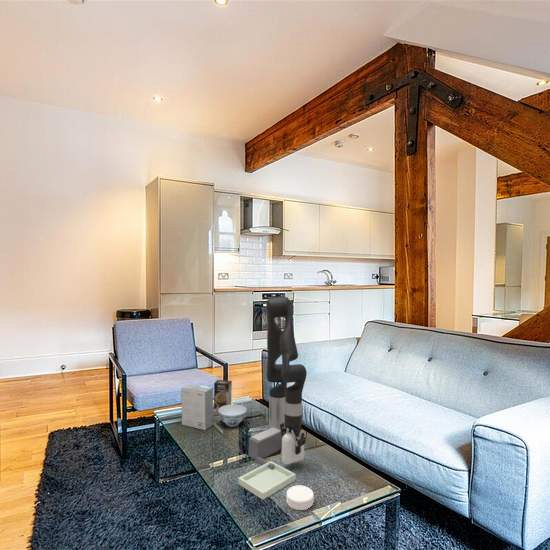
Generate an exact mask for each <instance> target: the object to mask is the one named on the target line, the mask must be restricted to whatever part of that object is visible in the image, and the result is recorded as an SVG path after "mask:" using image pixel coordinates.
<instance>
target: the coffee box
mask: <svg viewBox="0 0 550 550" xmlns="http://www.w3.org/2000/svg"><path fill="white" fill-rule="evenodd" d="M213 384H214V385H213V411H218V410H219V408H220V407H222V406H225V405H232V390H233V389H232V385H233V384H232V380H226V379H225V380H224V379H223V380H222V379H217V380H216V381H215V382H214V383H213Z"/></svg>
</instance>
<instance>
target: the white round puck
mask: <svg viewBox="0 0 550 550" xmlns="http://www.w3.org/2000/svg"><path fill="white" fill-rule="evenodd" d="M285 501H286V504H287V506H288V507H290V508H291V509H293V510H296V511H305V510H309V509H310V507H311V506H312V505H313V506H314V504H315V493H314V492H313V490H312V489H311V488H310V487H308V486H305V485H302V484H301V485H300V484H299V485H298V484H297V485H294V486H291V487H289V488H288V489H287V491H286V500H285ZM313 503H314V504H313ZM313 506H312V507H313ZM312 507H311V508H312ZM308 508H309V509H308Z"/></svg>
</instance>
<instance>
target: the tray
mask: <svg viewBox="0 0 550 550" xmlns="http://www.w3.org/2000/svg"><path fill="white" fill-rule="evenodd" d="M269 464H272V465H274V469H273V470H271V469H270V468H269ZM296 478H297V474H296V473H294V472H293V471H290V470H289V469H287V468H285V467H283V466H282V465H279V464H277V463H275V462H274V461H272V460H270V461H268V463H266V464H264V465H260V466H259V467H257V468H255V469H252V470H250V471H249V472H247V473H245V474H243V475H241V476H239V477H238V478H237V484H238V485H239V486H241V487H242V488H244V489H246V491H248V492H250V493H252V494H253V495H254V496H256V497H258V498H259V499H260V500H262V501H264V500H266V499H267V498H269V497H270V496H272V495H274V494H276V493H277V492H279V491H280V490H283V488H285V487H287V486H288V485H290V484H292V483H293V482H295V481H296V480H297V479H296Z"/></svg>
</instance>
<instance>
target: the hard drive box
mask: <svg viewBox="0 0 550 550" xmlns="http://www.w3.org/2000/svg"><path fill="white" fill-rule="evenodd" d="M213 425H214V387H211V386H206V385H205V386H204V385H200V384H199V385H198V384H194V383H193V384H192V383H189V384H186V385H185V386H183V387H181V426H187V427H189V428H190V427H191V428H194V429H199V430H203V431H206V430H207V429H210V428H211V427H212V426H213Z"/></svg>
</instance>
